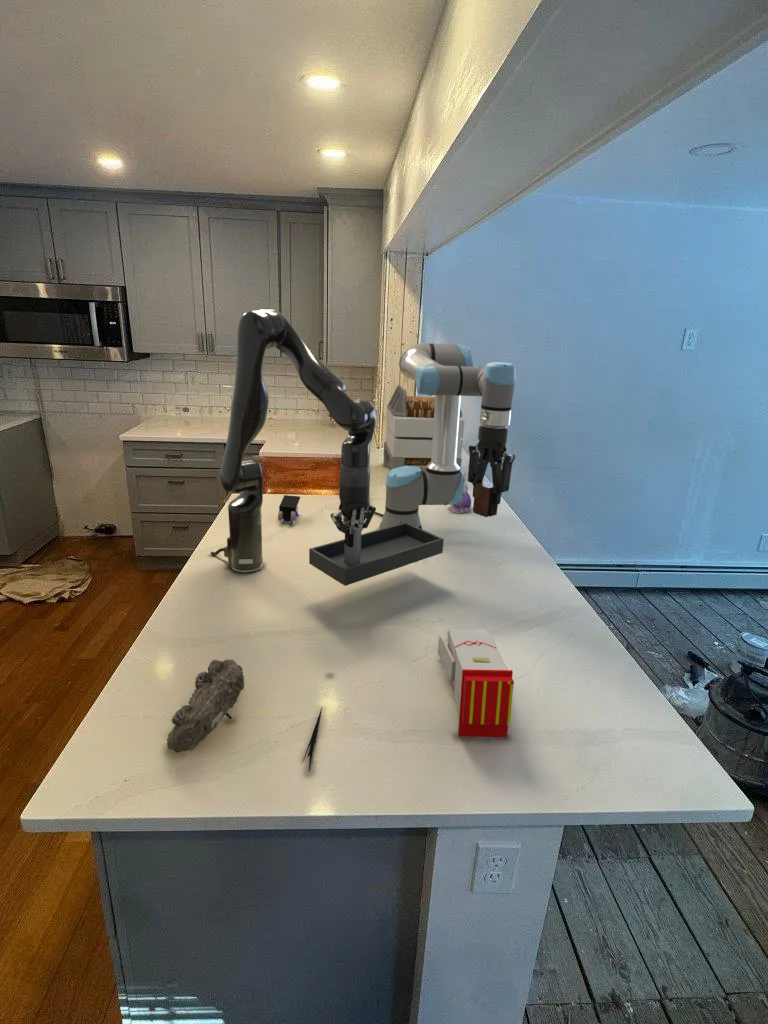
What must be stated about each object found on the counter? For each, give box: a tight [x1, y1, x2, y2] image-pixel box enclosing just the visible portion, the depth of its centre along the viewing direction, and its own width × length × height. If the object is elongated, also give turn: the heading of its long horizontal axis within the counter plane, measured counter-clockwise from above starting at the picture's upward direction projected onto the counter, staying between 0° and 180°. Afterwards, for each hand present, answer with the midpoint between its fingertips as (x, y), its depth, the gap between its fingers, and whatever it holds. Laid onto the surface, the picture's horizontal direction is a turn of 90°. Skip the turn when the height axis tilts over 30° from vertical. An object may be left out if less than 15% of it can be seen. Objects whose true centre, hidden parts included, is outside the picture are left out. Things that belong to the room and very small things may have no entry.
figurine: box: [449, 472, 472, 514], centre depth 224 cm, size 9×10×15 cm
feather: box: [301, 673, 332, 771], centre depth 108 cm, size 2×28×2 cm
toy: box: [437, 628, 515, 738], centre depth 117 cm, size 12×13×30 cm
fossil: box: [166, 658, 245, 754], centre depth 106 cm, size 22×10×15 cm
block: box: [472, 481, 493, 518], centre depth 150 cm, size 4×4×8 cm
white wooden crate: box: [383, 384, 465, 472], centre depth 268 cm, size 34×33×41 cm
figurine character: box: [277, 494, 301, 526], centre depth 207 cm, size 7×8×15 cm
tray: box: [308, 522, 445, 587], centre depth 152 cm, size 16×34×11 cm, turn 131°
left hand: (352, 545), depth 147 cm, fingers closed on tray, 1 cm apart
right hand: (484, 512), depth 151 cm, fingers closed on block, 4 cm apart
